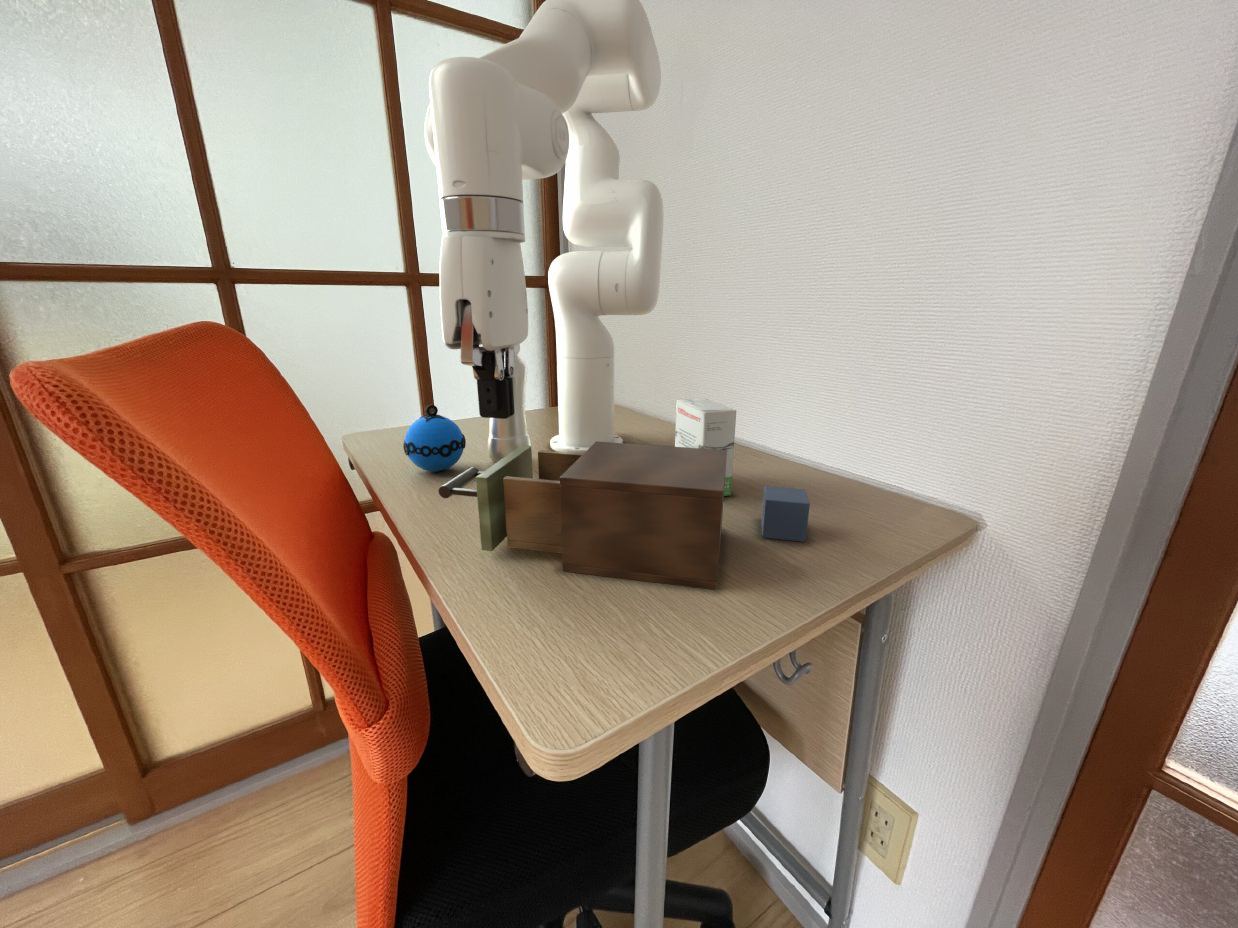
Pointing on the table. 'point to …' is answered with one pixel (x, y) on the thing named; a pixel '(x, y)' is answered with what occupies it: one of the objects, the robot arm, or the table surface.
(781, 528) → the block
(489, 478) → the drawer
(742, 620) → the table surface
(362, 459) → the table surface
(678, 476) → the cabinet
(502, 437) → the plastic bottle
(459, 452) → the ornament
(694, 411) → the ink box
